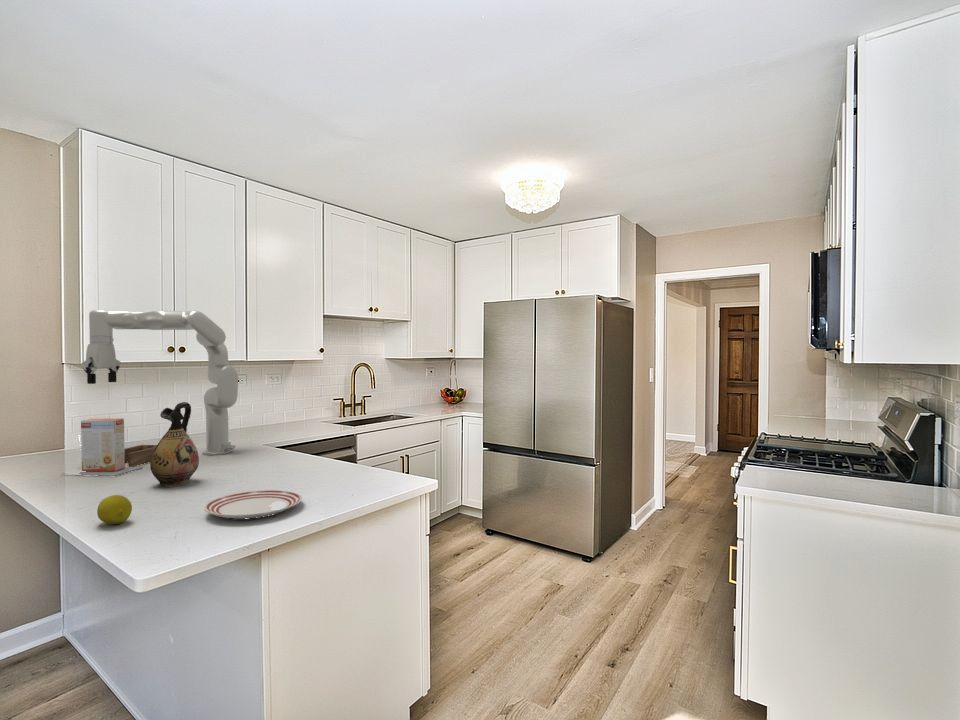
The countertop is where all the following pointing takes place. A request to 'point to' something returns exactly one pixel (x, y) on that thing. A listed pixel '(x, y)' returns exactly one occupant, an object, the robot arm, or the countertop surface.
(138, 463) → the holder
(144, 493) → the countertop surface
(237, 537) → the countertop surface
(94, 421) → the cracker box
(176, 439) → the ceramic jug
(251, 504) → the dinner plate
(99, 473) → the mat
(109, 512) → the lemon
